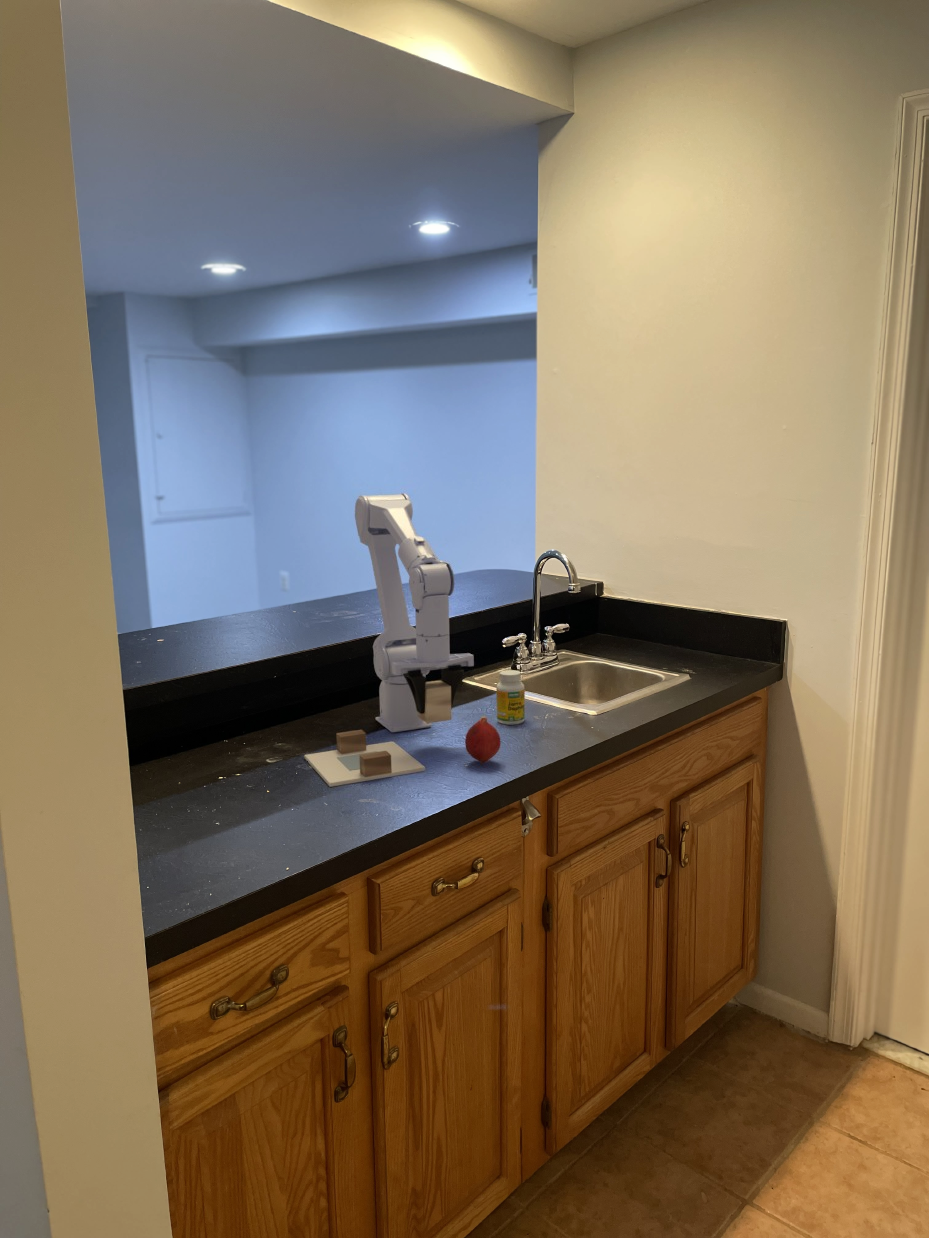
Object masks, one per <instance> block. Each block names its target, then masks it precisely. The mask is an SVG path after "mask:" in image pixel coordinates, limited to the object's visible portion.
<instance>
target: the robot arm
mask: <svg viewBox="0 0 929 1238" xmlns="http://www.w3.org/2000/svg"><path fill="white" fill-rule="evenodd" d="M413 511H414V510H413V503H412V500H411V498H410V496H408V494H407V493H405V492H404V493H400V494H381V495H378V494H375V495H365V494H361V495H359V496H358V497H357V499H356V501H355V506H354V521H355V524H356V530H357V535H358V537H359V538H358V539H359V542H360V543H361V544H363V545H365V546H367V547H368V552H369V556H370V560H371V565H372V569H373V570H372V571H373V575H374V580H375V585H376V593H377V595H378V601H379V607H380V612H381V613H380V614H381V617H382V622H383V623H382V624H383V627H384V628H383V629H384V630H383V631H382V632H381V633H380V634H379V635H378V636H377V637H376V638H375V640H374V642H373V645H372V649H373V666H374V667H373V668H374V671H375V673H376V676H377V677H378V678H379V679H380V680H381V682H380V685H379V690H378V692H379V693H378V694H379V713H380V714H379V716H376V717H375V720H376V721H377V722H378V723H379V724H380V725H382V726H383V727H385V728H386V729H387V730H388V731H389V732H391V733H397V732H398V733H399V732H404V731H413V730H418V729H424V728H426V729H427V728H431V727H432V723H426V722H425V721H423V720H422V719H420V718H419V717H418V712H419V713H420V714H423V713H425V684H426V682H427V677H426V675H428V674H429V673H430V671H434V670H435V671H437V670H440V674H441V681H443V682H444V683H446V684H448V685H450V686H451V710H452V709H453V706H454V705H453V704H454V699H455V697H456V693H457V690H458V687H459V685H460V683H461V681H462V680H463V678H464V677H465V676H464V675H465V670H464V669H463V668H462V667H474V665H475V661H474V659H475V658H474V654H471V653H469V652H467V653H450V651H451V650H450V608H449V607H450V603H449V601H450V600H449V599H450V598H449V596H451V595H453V593H454V590H455V574H454V571H453V569H452V566H451V564H450V563H449V562H448V561H444V560H443V559H441V560H440V559H438V556H437V555H436V553H435V552H434V550H433V549H432V547H431V545H430V543H429V542H428V540H427V539H426V538H425V537H423V536H420V535H418V534H417V532H416V529H415V527H414V525H413V523H412V520H413ZM397 545H398V546H399V547H398V551H397V552H396V546H397ZM397 554H398V556H397ZM398 557H399V560H400V561H401V563H402V565H403V567H404V569H405V570H406V572H407V574H408V578H409V579H408V585H409V590H410V595H411V605H412V607H413V608H414V609H415V610H414V611H415V612H414V613H415V627H414V626H412V624H411V623H410V618H409V614H408V608H407V603H406V602H407V601H406V597H405V592H404V588H403V582H402V578H401V577H402V576H401V572H400V568H399V562H398Z"/></svg>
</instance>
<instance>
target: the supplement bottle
mask: <svg viewBox="0 0 929 1238" xmlns="http://www.w3.org/2000/svg"><path fill="white" fill-rule="evenodd" d="M521 678H522V672H521V671H519V670H513V669H510V670H509V669H508V670H507V669H506V670H501V671H499V680H500V681H499V682H498V683H497V685H496V721H497V723H500V724H501V725H502V724H503V725H508V726H512V725H520V724H523V723H524V721H525V718H526V715H525V714H526V712H525V710H526V709H525V708H526V707H525V705H526V701H525V693H526V692H525V684H524V683H523V682H522V681H521Z"/></svg>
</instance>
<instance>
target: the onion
mask: <svg viewBox="0 0 929 1238" xmlns="http://www.w3.org/2000/svg"><path fill="white" fill-rule="evenodd" d="M499 734H500V733H499V732H498V731H497V729H496V727H494V726H493V725H492V724H491V723H489V722H488V718H487V716H482V717H480V719H479V720H478V721H477V722H476V723H474V724H473V725H472V726H471V727H470V728H468V730H467V732H466V734H465V735H466V736H465V740H464V741H465V742H464V743H465V750H466V752H467V754H468V755H469V756H470V757H472V758H473V759H474V760H476V761H477V762H478V763H481V764H487V763H488V762H489V760H491V759H492V758H493V757H495V755H496V754H498V752H499V750H500V749H501V742H502V741H501V737H500V735H499Z"/></svg>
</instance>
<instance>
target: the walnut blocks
mask: <svg viewBox="0 0 929 1238" xmlns="http://www.w3.org/2000/svg"><path fill="white" fill-rule="evenodd" d="M335 735H336V750H338V751H339V752H340V753H341V754H345V753H351V752H357V751H364V750H366V745H367V733H366V732H365V731H364V730H363V729H358V730H349V731H343V732H336V734H335ZM359 757H360V773H361V774H362V775H363V776H364V777H370V776H376V775H382V774H388V773H392V769H391V754H389V753H388V752H387V751H380V752H374V753H367V754H361V755H359Z"/></svg>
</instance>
